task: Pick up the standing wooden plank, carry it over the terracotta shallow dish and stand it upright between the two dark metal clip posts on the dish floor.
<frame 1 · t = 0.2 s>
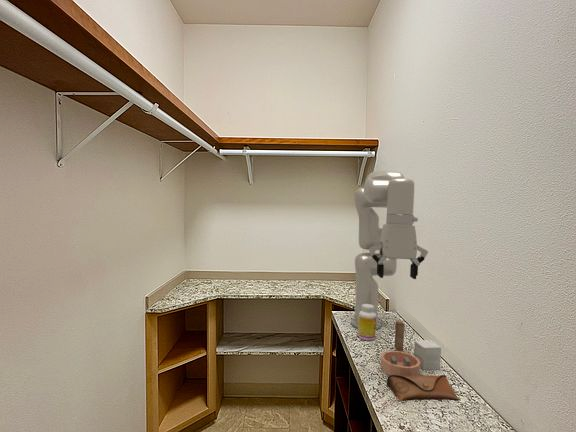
hand: (396, 277, 99), 31 cm above the countertop, tool pointing down, fingers open, 9 cm apart
supplement bottle: (366, 338, 131), on the countertop
terracotta shallow dish: (399, 369, 106), on the countertop
product box: (426, 365, 110), on the countertop
sunglasses case: (422, 394, 93), on the countertop
wooden plank: (398, 349, 121), on the countertop
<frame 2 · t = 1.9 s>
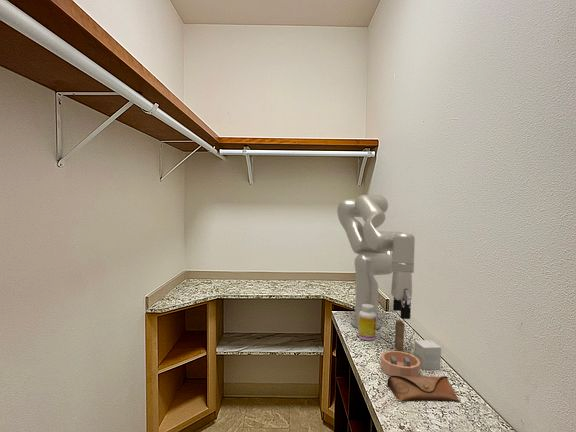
hand: (401, 314, 120), 13 cm above the countertop, tool pointing down, fingers open, 9 cm apart
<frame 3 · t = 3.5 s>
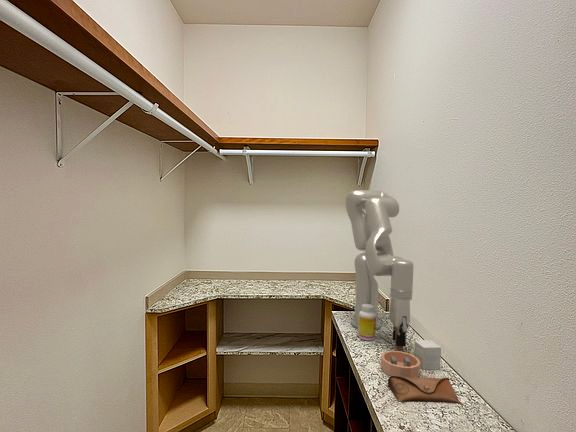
hand: (398, 342, 121), 2 cm above the countertop, tool pointing down, fingers closed on wooden plank, 3 cm apart
wooden plank: (398, 349, 121), on the countertop, touching gripper
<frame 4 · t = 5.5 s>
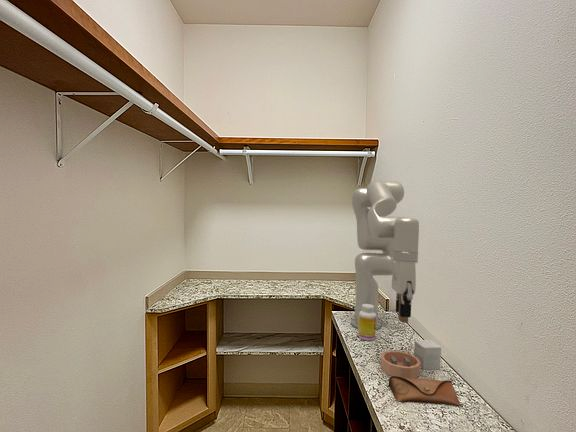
hand: (402, 313, 105), 18 cm above the countertop, tool pointing down, fingers closed on wooden plank, 3 cm apart
wooden plank: (402, 320, 106), point 16 cm above the countertop, touching gripper
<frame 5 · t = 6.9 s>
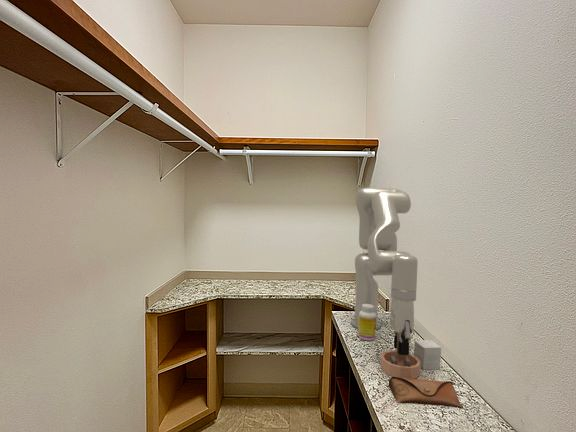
hand: (401, 350, 105), 6 cm above the countertop, tool pointing down, fingers closed on wooden plank, 3 cm apart
wooden plank: (401, 357, 105), point 4 cm above the countertop, touching gripper
when the fingers open (4 cm above the countertop, at t = 7.6 s): wooden plank stays where it is, resting on terracotta shallow dish.
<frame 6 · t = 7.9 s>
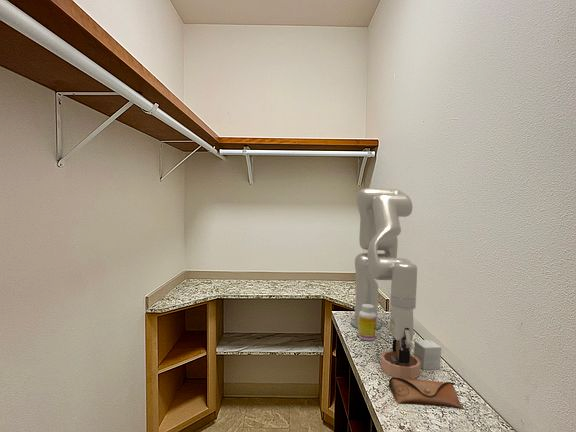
hand: (400, 356, 105), 4 cm above the countertop, tool pointing down, fingers open, 6 cm apart
wooden plank: (400, 367, 106), point 1 cm above the countertop, touching terracotta shallow dish
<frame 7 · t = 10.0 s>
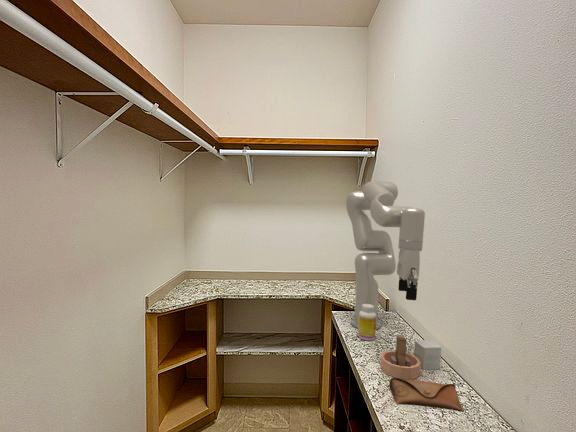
hand: (406, 295, 112), 22 cm above the countertop, tool pointing down, fingers open, 9 cm apart
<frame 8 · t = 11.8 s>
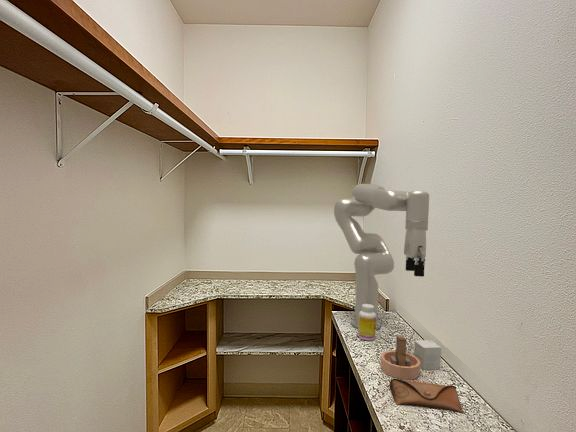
hand: (414, 273, 119), 28 cm above the countertop, tool pointing down, fingers open, 9 cm apart
at the end: wooden plank 0.0 cm off-centre on the terracotta shallow dish, point 0.6 cm above the terracotta shallow dish's base; wooden plank tilted 0°; the gripper is holding nothing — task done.
